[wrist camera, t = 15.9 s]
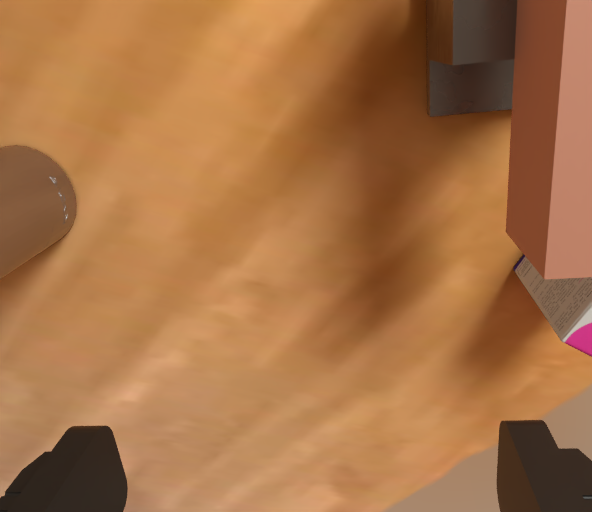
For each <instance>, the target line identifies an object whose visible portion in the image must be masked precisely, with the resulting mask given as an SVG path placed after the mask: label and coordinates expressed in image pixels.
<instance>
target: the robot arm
mask: <svg viewBox="0 0 592 512" xmlns="http://www.w3.org/2000/svg"><path fill="white" fill-rule="evenodd" d="M75 216H76V198H75V193H74V190H73V188H72V185H71V183H70V181H69V179H68V178H67V176H66V174H65V173H64V171H63V170H62V169H61V168H60V167H59V166H58V165H57V163H55V162H54V161H53V160H52V159H50V158H49V157H48V156H46V155H45V154H43V153H41V152H39V151H37V150H35V149H32V148H29V147H24V146H16V145H15V146H5V147H2V148H0V279H1V278H3V277H4V276H6V275H7V274H9V273H10V272H12V271H13V270H15V269H16V268H18V267H19V266H21V265H22V264H24V263H25V262H27V261H28V260H30V259H31V258H33V257H34V256H36V255H37V254H39V253H40V252H42V251H43V250H45V249H46V248H48V247H49V246H51V245H52V244H54V243H55V242H57V241H58V240H60V239H61V238H63V237H64V236H65V235H66V234H67V233H68V232H69V230H70V228H71V227H72V225H73V223H74V219H75ZM497 494H498V501H499V507H500V511H501V512H592V461H591V460H590V459H589V458H588V457H586V455H584V454H583V453H582V452H581V451H580V450H579V449H558V447H557V445H556V443H555V441H554V439H553V437H552V435H551V433H550V431H549V429H548V427H547V425H546V424H545V422H544V421H542V420H522V421H501V423H500V428H499V446H498V466H497ZM126 499H127V479H126V476H125V472H124V469H123V465H122V462H121V459H120V455H119V452H118V448H117V445H116V441H115V438H114V435H113V432H112V430H111V429H110V427H108V426H73V427H71V428H69V429H68V430H67V431H66V432H65V434H64V435H63V436H62V438H61V439H60V440H59V442H58V443H57V444H56V446H55V447H54V448H53V450H52V451H51V452H44V453H43V454H42V455H41V456H39V457H38V458H37V459H36V460H34V461H33V462H32V463H31V464H29V465H28V466H27V467H26V468H24V469H23V470H22V471H21V472H20V473H19V475H18V476H17V477H16V479H15V480H14V481H13V482H12V484H11V485H10V486H9V488H8V489H7V490H6V492H5V496H2V497H1V498H0V512H123V510H124V507H125V504H126Z"/></svg>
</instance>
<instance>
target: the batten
mask: <svg viewBox="0 0 592 512" xmlns="http://www.w3.org/2000/svg"><path fill="white" fill-rule="evenodd" d="M506 233H507V234H508V235H509V236H510V238H511V239H512V240H513V241H514V243H515V244H516V245H517V246H518V248H519V249H520V250H521V251H522V253H523V254H524V255H525V256H526V258H527V259H528V260H529V261H530V262H531V264H532V265H533V266H534V267H535V269H536V270H537V271H538V272H539V274H540V275H541V276H542V277H543V279H544V280H545V279H565V278H586V277H592V0H517V18H516V38H515V58H514V78H513V98H512V119H511V139H510V159H509V179H508V199H507V219H506Z"/></svg>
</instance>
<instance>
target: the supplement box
mask: <svg viewBox="0 0 592 512" xmlns="http://www.w3.org/2000/svg"><path fill="white" fill-rule="evenodd" d="M514 271H515V273H516V274H517V276H518V277H519V279H520V280H521V282H522V283H523V285H524V286H525V288H526V289H527V291H528V292H529V294H530V295H531V297H532V298H533V300H534V301H535V303H536V304H537V306H538V307H539V309H540V310H541V312H542V313H543V314H544V316H545V317H546V319H547V320H548V322H549V323H550V325H551V326H552V328H553V329H554V331H555V332H556V334H557V335H558V337H559V338H560V340H561V341H562V342H564V343H566V344H568V345H570V346H572V347H574V348H576V349H578V350H580V351H582V352H584V353H586V354H588V355H589V356H591V357H592V277H586V278H565V279H545V280H544V279H543V277H542V276H541V275H540V274H539V272H538V271H537V270H536V269H535V267H534V266H533V265H532V264H531V262H530V261H529V260H528V259H527V258H526V256H525V255H524V254H523V256H522V257H521V258H520V260H519V261H518V262H517V264H516V265H515V266H514Z"/></svg>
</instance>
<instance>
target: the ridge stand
mask: <svg viewBox="0 0 592 512" xmlns="http://www.w3.org/2000/svg"><path fill="white" fill-rule="evenodd" d="M516 18H517V0H426V23H427V114H428V115H429V116H430V117H432V116H443V115H454V114H465V113H476V112H487V111H498V110H509V109H512V98H513V78H514V58H515V38H516Z"/></svg>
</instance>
